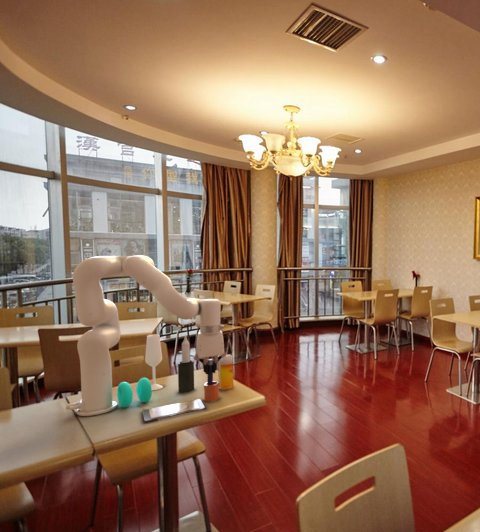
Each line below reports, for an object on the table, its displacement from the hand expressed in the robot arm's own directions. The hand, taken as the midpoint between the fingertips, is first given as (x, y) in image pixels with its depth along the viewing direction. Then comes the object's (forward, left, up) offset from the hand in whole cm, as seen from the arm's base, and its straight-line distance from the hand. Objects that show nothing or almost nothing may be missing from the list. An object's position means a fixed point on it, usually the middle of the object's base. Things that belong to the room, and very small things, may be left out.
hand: (210, 372), depth 162 cm
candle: (-7, +17, -12) cm, 22 cm away
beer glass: (+8, +11, -12) cm, 18 cm away
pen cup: (0, 0, -12) cm, 12 cm away
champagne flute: (-18, +31, -12) cm, 37 cm away
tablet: (-14, -4, -12) cm, 18 cm away
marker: (0, 0, -7) cm, 7 cm away
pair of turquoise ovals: (-26, +13, -12) cm, 31 cm away
